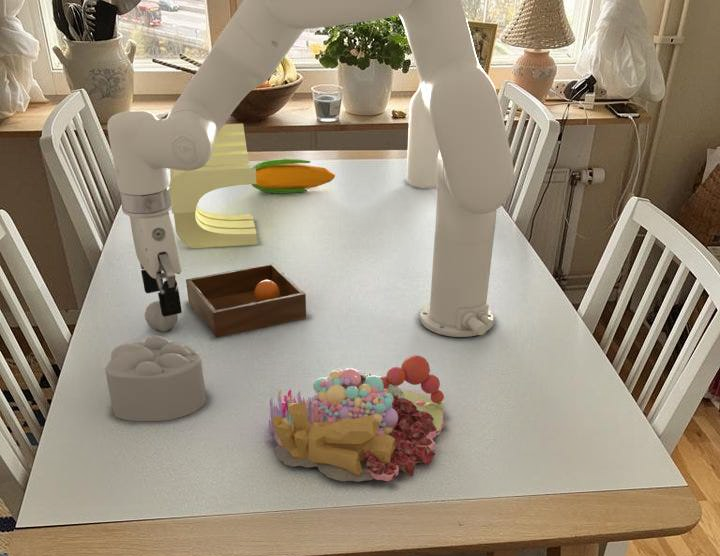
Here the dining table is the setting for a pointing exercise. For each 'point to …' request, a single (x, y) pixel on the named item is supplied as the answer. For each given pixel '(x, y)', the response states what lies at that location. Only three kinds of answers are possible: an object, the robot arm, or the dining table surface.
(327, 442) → the colourful coral reef
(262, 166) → the corn
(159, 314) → the garlic
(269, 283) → the mandarin
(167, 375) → the lumpy-topped squat cylinder
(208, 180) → the slatted curved stool
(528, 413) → the dining table surface
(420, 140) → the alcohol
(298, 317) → the wooden tray
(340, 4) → the robot arm
